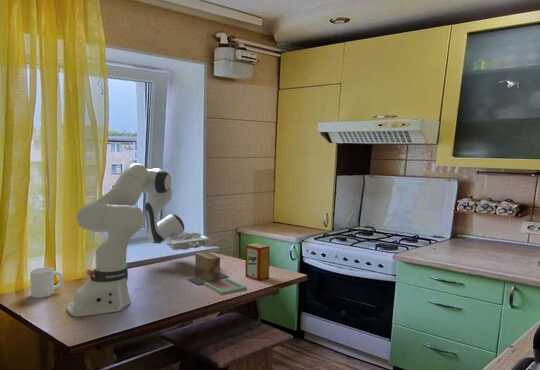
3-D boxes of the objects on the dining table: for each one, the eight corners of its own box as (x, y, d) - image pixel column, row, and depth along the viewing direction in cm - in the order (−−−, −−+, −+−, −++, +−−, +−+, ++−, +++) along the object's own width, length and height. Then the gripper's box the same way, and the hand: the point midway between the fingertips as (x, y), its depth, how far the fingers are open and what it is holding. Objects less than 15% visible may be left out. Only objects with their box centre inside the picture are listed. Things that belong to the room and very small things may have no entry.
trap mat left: (197, 285, 186) (197, 284, 186) (187, 279, 194) (187, 278, 194) (207, 283, 189) (207, 282, 189) (197, 277, 197) (197, 277, 197)
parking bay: (220, 294, 175) (220, 292, 174) (203, 284, 187) (203, 282, 187) (246, 288, 182) (246, 286, 182) (228, 279, 195) (228, 277, 195)
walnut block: (208, 282, 190) (208, 259, 190) (195, 275, 201) (195, 253, 200) (219, 280, 194) (220, 257, 193) (206, 273, 204) (206, 251, 203)
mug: (61, 288, 178) (61, 265, 177) (65, 294, 172) (65, 269, 171) (29, 293, 171) (28, 269, 170) (32, 299, 164) (31, 274, 164)
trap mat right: (219, 278, 196) (219, 278, 196) (209, 273, 204) (209, 272, 204) (228, 277, 199) (228, 276, 199) (218, 272, 207) (218, 271, 207)
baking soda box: (245, 276, 201) (245, 243, 199) (255, 274, 205) (256, 242, 204) (258, 281, 194) (259, 247, 193) (268, 278, 198) (269, 245, 197)
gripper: (165, 237, 210) (177, 242, 199) (201, 232, 222) (214, 237, 211) (165, 249, 211) (177, 255, 200) (201, 244, 223) (214, 249, 212)
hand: (196, 246), depth 205 cm, fingers closed
